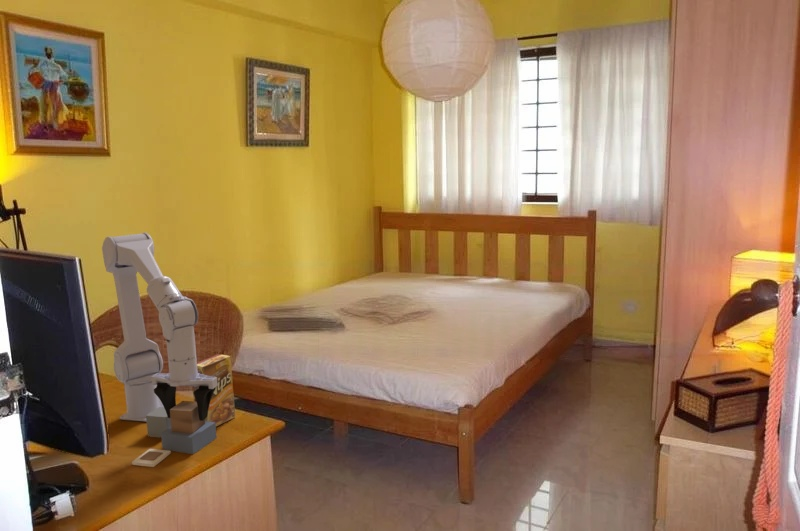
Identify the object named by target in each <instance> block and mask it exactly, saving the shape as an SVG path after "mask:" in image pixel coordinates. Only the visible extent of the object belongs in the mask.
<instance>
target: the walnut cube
mask: <svg viewBox="0 0 800 531" xmlns="http://www.w3.org/2000/svg"><path fill="white" fill-rule="evenodd" d="M170 418H171V428H172V432H180V433H194V432H195V431H197V430H198V429H199V428H200V427H202V426H203V425H204V424H205V419H204V420H203V421H200V420H199V415H198V406H197V402H194V400H193V401H192V400H190V401H189V400H181V401H180V402H178V403H176V406H174V407H173V408H171V409H170Z"/></svg>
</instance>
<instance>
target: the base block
mask: <svg viewBox="0 0 800 531" xmlns="http://www.w3.org/2000/svg"><path fill="white" fill-rule="evenodd" d="M217 438H218V436H217V426H216V424H215V422H209V421H205V424H204V425H203V426H202V427H200V428H199V429H198V430H197V431H195V432H194V433H180V432H172V428H171V427H170V428H168V429H167V430H165V431H163V432H162V433H161V447H162V448H161V450H168V451H173V452H178V453H185V454H189V455H195V454H196V453H198V452H199V451H200V450H202V449H203V448H205V447H206V446H208V445H209V444H210V443H212V442H213V441H215V440H216V439H217ZM214 439H215V440H214Z"/></svg>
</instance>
